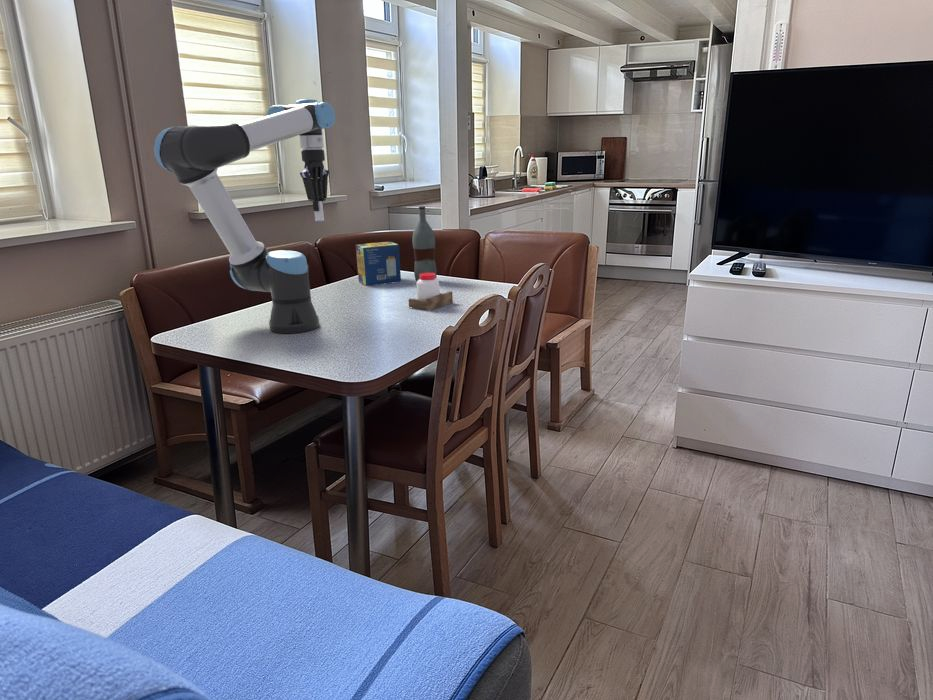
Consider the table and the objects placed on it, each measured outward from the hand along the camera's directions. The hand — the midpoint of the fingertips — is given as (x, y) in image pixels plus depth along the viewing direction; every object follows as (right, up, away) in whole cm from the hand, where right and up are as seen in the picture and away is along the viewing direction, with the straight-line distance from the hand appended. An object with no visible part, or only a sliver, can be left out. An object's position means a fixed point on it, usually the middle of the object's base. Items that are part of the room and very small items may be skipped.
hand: (319, 220), depth 226 cm
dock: (+37, -29, +1) cm, 47 cm away
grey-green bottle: (+34, -17, +41) cm, 56 cm away
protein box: (+15, -17, +45) cm, 50 cm away
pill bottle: (+38, -29, +1) cm, 48 cm away
